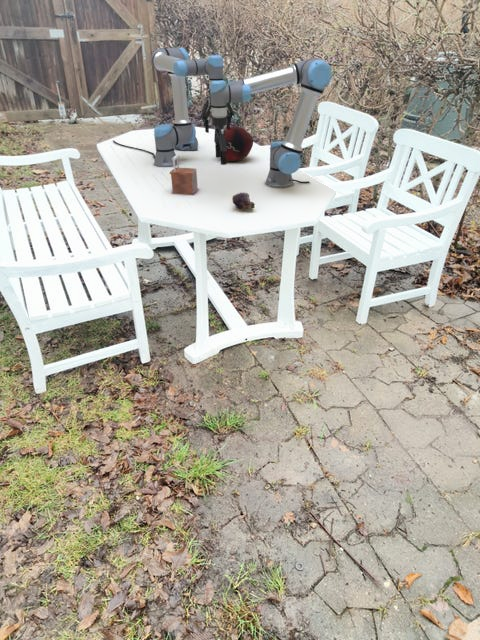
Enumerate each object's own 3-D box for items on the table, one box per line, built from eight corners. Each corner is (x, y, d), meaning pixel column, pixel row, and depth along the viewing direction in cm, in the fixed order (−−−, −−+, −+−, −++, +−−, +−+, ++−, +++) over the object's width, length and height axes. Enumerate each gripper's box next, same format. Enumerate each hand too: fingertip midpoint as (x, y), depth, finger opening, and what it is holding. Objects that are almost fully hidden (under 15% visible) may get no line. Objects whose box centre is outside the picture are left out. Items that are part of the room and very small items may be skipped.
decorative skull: (214, 132, 305) (214, 129, 282) (248, 124, 304) (250, 121, 281) (221, 164, 312) (221, 164, 288) (254, 157, 311) (257, 156, 288)
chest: (172, 193, 246) (170, 174, 240) (177, 188, 254) (176, 169, 248) (193, 194, 244) (191, 175, 238) (197, 189, 251) (196, 170, 246)
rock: (245, 206, 232) (228, 209, 228) (244, 189, 228) (227, 192, 224) (257, 209, 223) (239, 213, 218) (256, 192, 219) (238, 195, 215)
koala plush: (198, 150, 320) (196, 121, 309) (173, 151, 319) (170, 122, 308) (198, 145, 335) (196, 116, 324) (174, 145, 334) (171, 117, 322)
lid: (169, 174, 240) (168, 158, 236) (175, 169, 248) (173, 153, 243) (191, 175, 238) (190, 159, 234) (196, 170, 246) (195, 154, 241)
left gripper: (198, 91, 233) (201, 134, 245) (240, 87, 243) (240, 129, 255) (192, 89, 238) (194, 132, 250) (233, 86, 248) (233, 127, 260)
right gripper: (207, 112, 230) (209, 155, 242) (216, 121, 210) (218, 167, 222) (221, 111, 231) (223, 154, 243) (232, 120, 211) (233, 166, 223)
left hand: (217, 131), depth 253 cm, fingers open, 13 cm apart
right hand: (220, 160), depth 232 cm, fingers open, 13 cm apart
